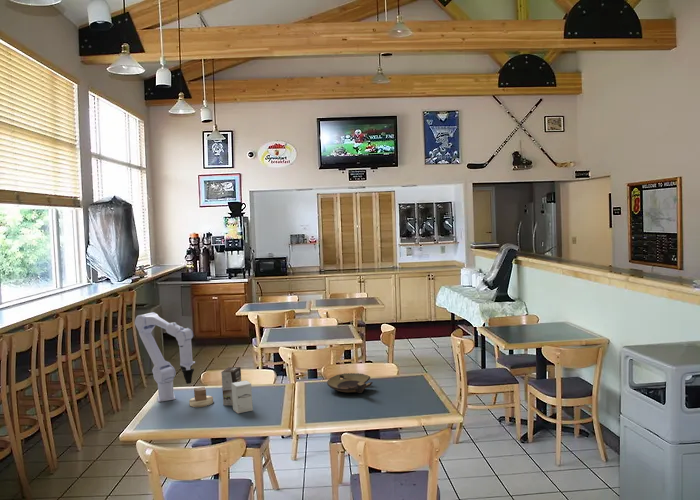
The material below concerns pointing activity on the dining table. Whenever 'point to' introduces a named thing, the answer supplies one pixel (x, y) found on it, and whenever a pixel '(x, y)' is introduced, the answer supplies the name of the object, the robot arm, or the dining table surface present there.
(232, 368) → the coffee box
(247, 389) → the supplement box
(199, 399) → the walnut block
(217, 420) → the dining table surface
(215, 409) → the dining table surface
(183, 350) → the robot arm
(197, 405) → the birch board
